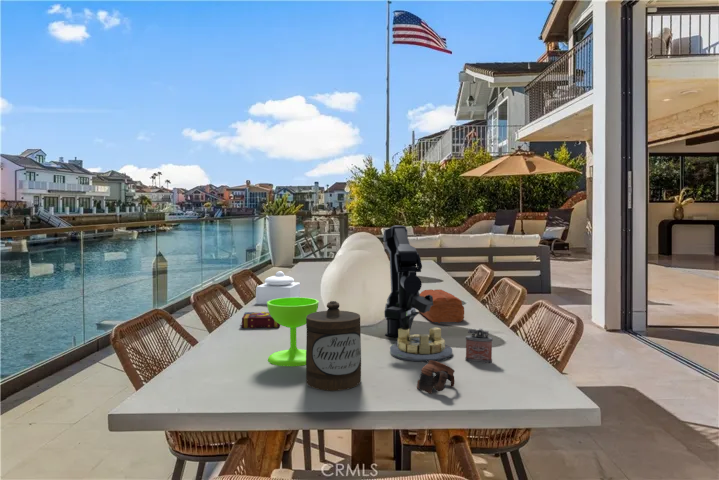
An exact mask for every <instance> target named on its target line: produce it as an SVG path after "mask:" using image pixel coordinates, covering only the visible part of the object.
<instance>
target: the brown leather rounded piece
mask: <svg viewBox="0 0 719 480" xmlns="http://www.w3.org/2000/svg"><path fill="white" fill-rule="evenodd" d="M420 370H421V372H420V375H419V379H417V382H416V383H417V384H416V389H419V390H421V391H422V392H426V393H428V394H432V393H433V389H434V390H435V391H436V392H443V391H444V389H445V386H446V383H447V380H448V381H449V382H450V387H451V388H454V387H455V382H456V381H455V375H454V374H455V370H454V369H453V368H452V367H450V366H449V365H446V364H445V363H442V362H440V361H432V360H429V361H428V362H427V364H425V365H424V366H423V367H422V368H421V369H420ZM434 374H435V375H434Z"/></svg>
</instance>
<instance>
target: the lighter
mask: <svg viewBox="0 0 719 480" xmlns="http://www.w3.org/2000/svg"><path fill="white" fill-rule="evenodd" d="M467 334H471V335H465V360H464V361H465V362H470V363H475V364H492V363H493V358H492V356H493V355H492V353H493V352H492V351H493V347H492V346H493V343H492V342H493V337H491V336H489V330H484V329H483V328H479V329H475V328H468V329H467Z"/></svg>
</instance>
